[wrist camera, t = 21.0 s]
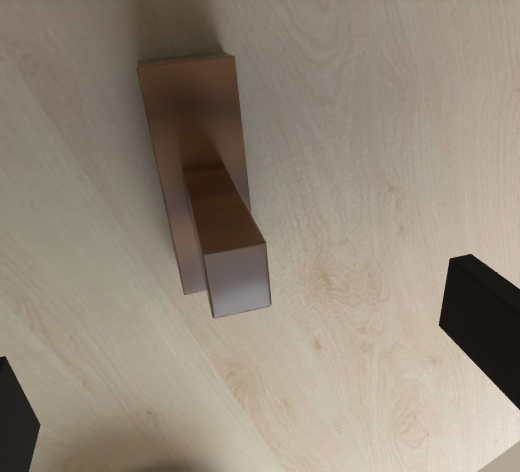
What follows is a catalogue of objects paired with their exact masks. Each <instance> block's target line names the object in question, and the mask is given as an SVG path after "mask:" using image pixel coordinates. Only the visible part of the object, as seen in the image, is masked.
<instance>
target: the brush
mask: <svg viewBox="0 0 520 472" xmlns="http://www.w3.org/2000/svg"><path fill="white" fill-rule="evenodd" d="M137 73H138V78H139V82H140V87H141V92H142V97H143V101H144V106H145V111H146V116H147V121H148V125H149V130H150V135H151V140H152V144H153V149H154V154H155V159H156V163H157V168H158V173H159V178H160V182H161V187H162V192H163V197H164V202H165V206H166V211H167V216H168V221H169V225H170V230H171V235H172V240H173V244H174V249H175V254H176V259H177V263H178V268H179V273H180V278H181V283H182V287H183V292H184V295H187V294H192V293H197V292H201V291H206V290H207V295H208V299H209V304H210V308H211V313H212V317H213V318H219V317H224V316H228V315H233V314H238V313H242V312H247V311H251V310H256V309H260V308H265V307H270V306H271V304H272V303H271V292H270V281H269V270H268V258H267V247H266V241H265V240H264V238H263V236H262V234H261V232H260V230H259V228H258V227H257V225H256V223H255V221H254V219H253V217H252V215H251V208H250V198H249V189H248V179H247V170H246V160H245V150H244V141H243V131H242V122H241V112H240V103H239V93H238V84H237V74H236V64H235V57H234V56H232V55H230V54H227V53H225V52H217V53H208V54H199V55H190V56H181V57H172V58H163V59H154V60H145V61H139V62H138V65H137Z"/></svg>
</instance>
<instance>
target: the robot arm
mask: <svg viewBox="0 0 520 472" xmlns="http://www.w3.org/2000/svg"><path fill="white" fill-rule="evenodd" d="M439 326H440V327H441V328H442V329H443V330H444V331H445V332H446V333H447V335H448V336H449V337H450V338H451V339H452V340H453V341H454V342H455V343H456V344H457V345H458V346H459V347H460V348H461V349H462V350H463V351H464V352H465V353H466V354H467V355H468V356H469V358H470V359H471V360H472V361H473V362H474V363H475V364H476V365H477V366H478V367H479V368H480V369H481V370H482V371H483V372H484V373H485V374H486V375H487V376H488V377H489V378H490V379H491V380H492V382H493V383H494V384H495V385H496V386H497V387H498V388H499V389H500V390H501V391H502V392H503V393H504V394H505V395H506V396H507V397H508V398H509V399H510V400H511V401H512V402H513V403H514V405H515V406H516V407H517V408H518V409H519V410H520V289H519V288H517V287H516V286H515V285H513V284H512V283H511V282H509V281H508V280H506V279H505V278H504V277H502V276H501V275H499V274H498V273H497V272H495V271H494V270H493V269H491V268H490V267H488V266H487V265H486V264H484V263H483V262H481V261H480V260H479V259H477V258H476V257H475V256H473V255H472V254H468V255H464V256H459V257H455V258H450V260H449V266H448V272H447V279H446V285H445V291H444V297H443V303H442V309H441V315H440V321H439ZM39 429H40V423H39V421H38V419H37V417H36V415H35V413H34V411H33V409H32V407H31V405H30V403H29V401H28V400H27V398H26V396H25V394H24V392H23V390H22V388H21V386H20V384H19V382H18V380H17V378H16V376H15V374H14V372H13V370H12V368H11V366H10V364H9V362H8V360H7V358H6V356H4V357H0V472H29V469H30V465H31V461H32V457H33V453H34V449H35V445H36V441H37V437H38V433H39Z"/></svg>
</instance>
